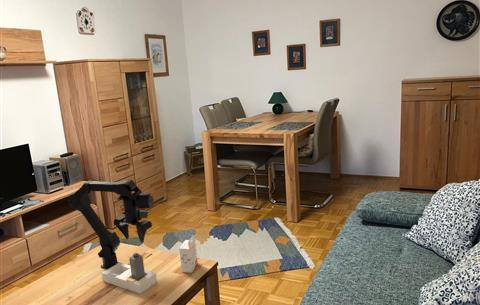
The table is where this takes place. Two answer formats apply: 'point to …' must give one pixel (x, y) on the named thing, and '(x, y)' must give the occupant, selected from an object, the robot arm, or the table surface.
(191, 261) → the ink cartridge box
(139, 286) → the socket block
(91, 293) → the table surface
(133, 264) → the plug
